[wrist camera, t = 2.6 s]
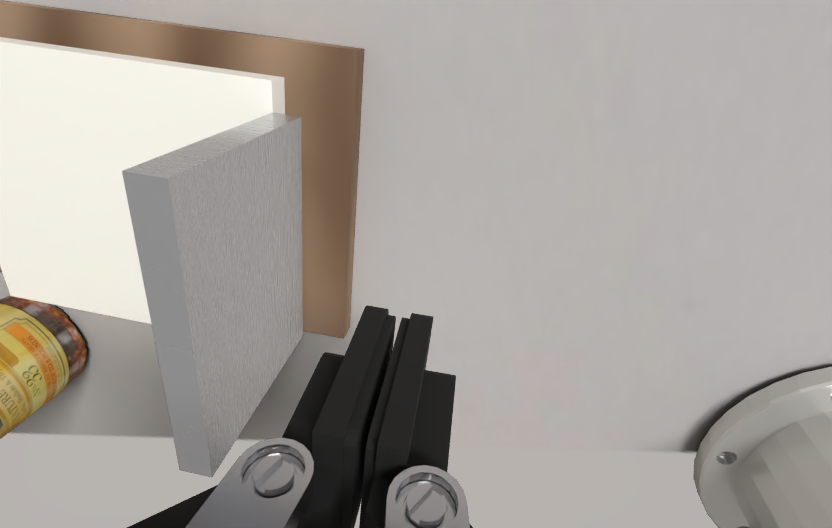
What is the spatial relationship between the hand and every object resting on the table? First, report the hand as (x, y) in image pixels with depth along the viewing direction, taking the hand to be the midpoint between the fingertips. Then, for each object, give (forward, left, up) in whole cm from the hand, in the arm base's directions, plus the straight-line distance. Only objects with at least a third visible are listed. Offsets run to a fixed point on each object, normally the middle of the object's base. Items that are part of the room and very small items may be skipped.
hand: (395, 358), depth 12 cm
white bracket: (+12, 0, -9) cm, 15 cm away
